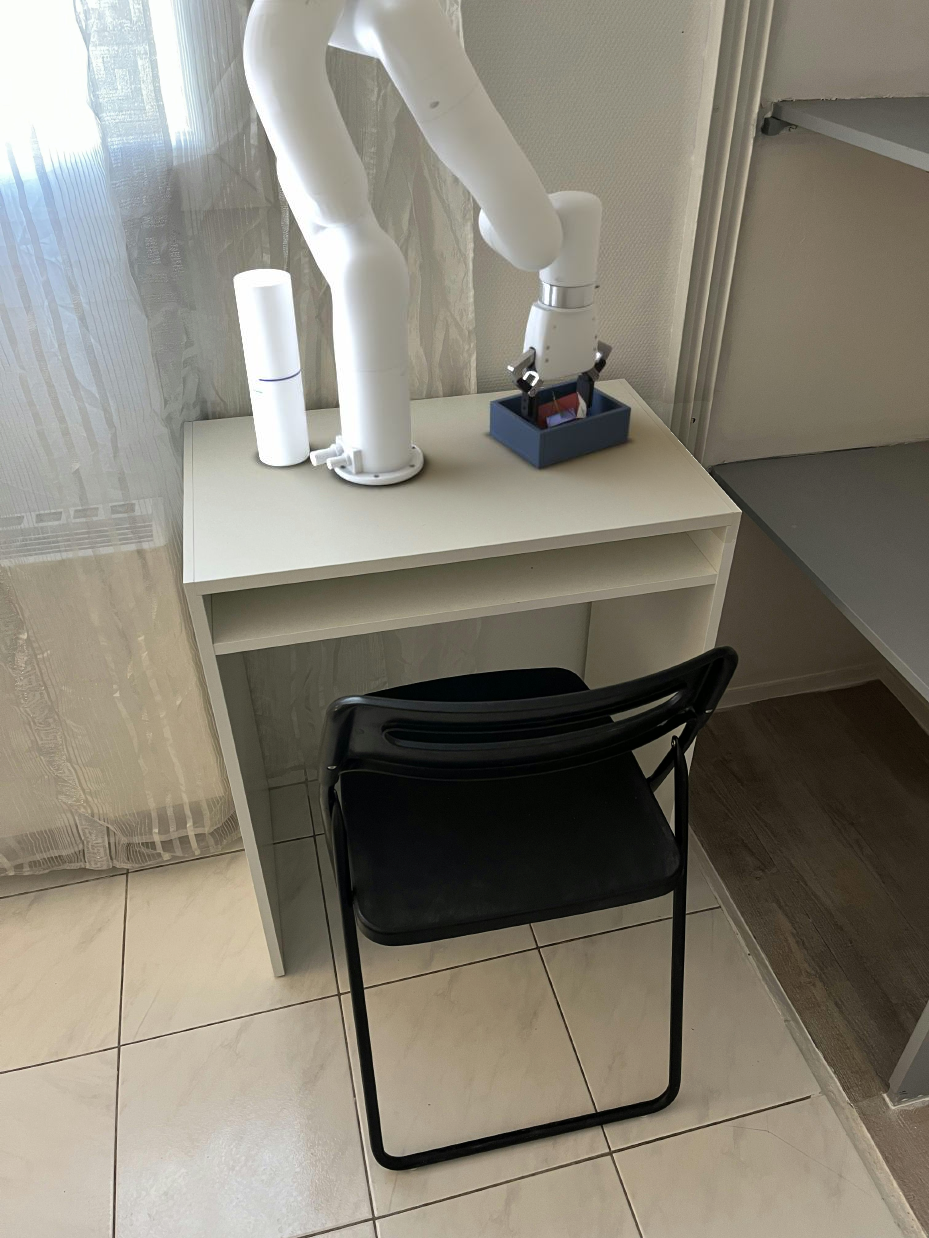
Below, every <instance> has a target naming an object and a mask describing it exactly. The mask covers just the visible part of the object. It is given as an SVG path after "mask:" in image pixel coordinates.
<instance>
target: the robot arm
mask: <svg viewBox="0 0 929 1238" xmlns="http://www.w3.org/2000/svg"><path fill="white" fill-rule="evenodd" d="M328 46H330V47H334V48H338V49H341V50H344V51H348V52H352V53H356V54H359V55H364V56H369V57H373V58H375V59H378V60H379V61H380V62H381V63H382V65H383V67H384V69H385V71H386V72H387V74H388V76H389V77H390V79H391V81H392V83H393V84H394V86H395V88H396V89H397V90H398V92H399V94H400V96H401V98H402V99H403V101H404V103H405V104H406V106H407V108H408V110H409V111H410V113H411V115H412V117H413V119H414V120H415V122H416V124H417V125H418V127H419V129H420V131H421V133H422V135H423V136H424V138H425V140H426V142H427V144H428V145H429V146H430V147H431V149H432V150H433V152H434V153H435V154H436V156H437V157H438V158H439V160H440V161H441V162H442V163H443V165H445V166H446V167H447V169H449V171H451V172H452V173H453V175H454V176H456V177H457V179H458V180H459V181H460V183H462V184H463V186H464V187H465V188H466V189H467V190H468V191H469V193H470V194H471V196H472V197H473V198H474V200H475V201H476V203H477V205H478V206H479V207H480V208H481V209H480V212H479V215H478V228H479V232H480V235H481V236H482V239H483V240H484V241H485V243H486V244H487V245H488V246H489V247H490V248H491V249H492V250H494V251H495V252H496V253H497V254H499V255H500V256H501V257H503V258H504V259H505V260H507V261H508V263H510V264H511V265H512V266H514V267H515V268H517V269H518V270H520V271H521V270H522V271H525V272H530V273H533V272H539V273H538V274H539V275H538V292H537V301H534V302H532V304H531V308H530V311H529V314H528V319H527V324H526V329H525V334H524V342H523V351H522V354H521V355H520V356H519V357H518V358H516V359H515V360H514V361H513V362H511V363H510V364H509V365H508V366H507V371H508V373H509V376H510V378H511V379H512V380H511V381H512V383H513V384H514V385H515V386H516V387H517V388H518V390H519V391H521V393H522V404H521V411H522V415H523V416H524V417H525V418H527V419H528V420H530V421H531V422H537V420H538V413H539V396H538V395H537V394H536V393H537V392H538V390H539V389H540V388H542V386H543V384H544V383H545V382H548V381H553V380H558V379H562V378H565V377H570V376H574V375H577V374H579V375H578V376H577V378H576V379H577V389H576V392H578V394H579V395H580V396H581V398H582V399H583V400H584V402H585V403H586V407H587V408H591V407H592V402H593V393H594V387H595V383H596V382H597V381H599V379H600V373H602V371H603V369H604V368H606V366H607V360H608V358H609V356H610V354H611V353H612V350H613V346H612V345H610V344H608V343H606V342H604V341H602V340H600V339H599V316H598V307H597V306H598V305H597V301H596V300H595V290H597V289H599V288H600V286H601V282H600V279H599V278H597V269H598V261H599V260H598V259H599V249H600V240H601V239H600V238H601V229H602V218H603V204H602V201H601V200H600V198H599V197H598V196H597V195H596V194H593V193H591V192H588V191H581V190H562V191H557V192H554V193H547V190H546V189H545V186H544V185H543V183H542V181H541V179H540V178H539V175H538V174H537V172H536V170H535V168H534V167H533V165H532V164H531V162H530V160H529V159H528V157H527V156H526V154H525V153H524V151H523V150H522V148H521V147H520V145H519V144H518V142H517V141H516V139H515V137H514V136H513V134H512V133H511V131H510V129H509V128H508V125H507V124H506V122H505V121H504V119H503V118H502V116H501V115H500V113H499V112H498V111H497V109H496V107H495V106H494V104H493V102H492V100H491V99H490V97H489V94H488V93H487V91H486V89H485V87H484V86H483V83H482V82H481V79H480V78H479V76H478V74H477V72H476V70H475V68H474V67H473V64H472V62H471V60H470V58H469V57H468V54H467V52H466V50H465V49H464V46H463V44H462V43H461V40H460V38H459V37H458V34H457V32H456V31H455V29H454V27H453V24H452V23H451V21H450V19H449V17H448V15H447V13H446V11H445V10H444V8H443V6H442V4H441V2H440V0H253V2H252V5H251V7H250V10H249V13H248V16H247V20H246V26H245V30H244V38H243V66H244V75H245V79H246V82H247V83H246V84H247V86H248V90H249V92H250V95H251V99H252V101H253V103H254V106H255V108H256V111H257V113H258V115H259V119H260V121H261V123H262V125H263V127H264V130H265V133H266V135H267V138H268V140H269V143H270V145H271V147H272V149H273V151H274V154H275V156H276V172H277V177H278V178H277V179H278V181H279V184H280V187H281V189H282V192H283V194H284V196H285V198H286V201H287V203H288V204H289V208H290V209H291V211H292V214H293V216H294V218H295V220H296V222H297V224H298V227H299V229H300V231H301V233H302V235H303V237H304V239H305V242H306V244H307V245H308V247H309V250H310V252H311V254H312V256H313V257H314V261H315V263H316V264H317V266H318V268H319V270H320V272H321V273H322V275H323V276H324V278H325V280H326V282H327V283H328V285H329V287H330V292H331V297H332V298H331V299H332V336H333V350H334V359H335V360H334V361H335V369H336V380H337V391H338V392H337V393H338V404H339V414H340V415H339V416H340V425H341V434H339V435H335V443H333V444H331V445H330V447H328V448H327V447H326V448H321V449H317V450H313V451H310V455H309V457H310V461H311V464H312V465H313V466H315V467H317V466H320V465H323V464H326V466H327V467H328V469H329V470H332V469H333V470H334V471H335V472H336V474H337V475H339V476H340V477H341V478H342V479H344V480H345V481H349V482H352V483H354V484H360V485H365V486H366V485H367V486H383V485H392V484H398V483H400V482H403V481H406V480H408V479H410V478H412V477H415V475H417V474H418V473H419V472H420V471H421V469H422V468H423V466H424V454H423V451H422V450H421V448H419V447H418V446H417V445H415V444H414V443H413V441H412V418H411V417H412V415H411V394H410V393H411V391H410V390H411V389H410V388H411V387H410V367H409V366H410V365H409V347H408V316H409V315H408V312H409V302H410V286H411V285H410V283H411V282H410V273H409V268H408V264H407V260H406V258H405V256H404V254H403V252H402V250H401V249H400V247H399V245H398V244H397V243H396V242H395V241H394V239H393V238H391V237H390V235H389V234H388V233H387V232H386V231H384V230H383V229H382V228H381V226H380V224H379V222H378V220H377V218H376V216H375V213H374V210H373V208H372V206H371V203H370V200H369V198H368V197H369V182H368V176H367V172H366V169H365V165H364V164H363V161H362V159H361V158H360V155H359V153H358V152H357V149H356V147H355V145H354V143H353V141H352V138H351V136H350V134H349V131H348V128H347V125H346V123H345V120H344V119H343V116H342V113H341V111H340V109H339V107H338V104H337V101H336V100H337V99H336V97H335V94H334V91H333V89H332V86H331V85H330V81H329V77H328V72H327V67H326V66H327V65H326V64H327V63H326V58H327V57H326V55H327V50H328ZM523 371H524V372H526V373H525V375H524V376H523Z"/></svg>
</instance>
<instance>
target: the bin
mask: <svg viewBox="0 0 929 1238" xmlns="http://www.w3.org/2000/svg"><path fill="white" fill-rule="evenodd" d="M550 386H551V388H552V390H551V389H550ZM553 388H554V389H553ZM555 389H556V390H555ZM576 389H577V378H574V379H570V380H567V381H563V382H559V383H558V382H557V383H555V384H551V385H547V386H544V387H540V389H539V390H538V392H537V393H536V394H537V395H538V396H539V405H541V406H542V404H543V405H544V403H545V402H547V403H550V402H552V401H553V400H554V398H553V394H554V397H555V398H556V399H555V400H558V399H560V398H563V397H566V396H565V395H567V396H568V394H570V395H571V394H572V393H576ZM549 390H550V392H549ZM557 390H558V391H559V392H558V391H557ZM552 391H553V394H552ZM560 392H561V393H560ZM545 393H546V394H545ZM548 393H549V395H548ZM562 393H563V394H562ZM547 396H548V398H547ZM561 396H563V397H561ZM558 397H559V398H558ZM541 398H542V399H541ZM546 399H547V401H546ZM552 399H553V400H552ZM550 400H551V401H550ZM555 400H554V401H555ZM548 401H549V402H548ZM547 403H546V404H547ZM521 404H522V392H519V393H517V394H513V395H509V396H506V397H501V398H498V399H495V400H490V401H489V435H490V436H491V437H492V438H494V439H495V440H496V441H498V442H499V443H501V444H503V445H504V446H506V447H507V448H508V449H510V450H511V451H513V452H514V453H515V454H517V455H518V456H520V457H521V458H522V459H524V460H526V461H527V462H528V463H530V464H531V465H533V466H534V467H535V468H537V469H541V468H544V467H547V466H551V465H554V464H557V463H561V462H564V461H567V460H570V459H574V458H577V457H580V456H583V455H587V454H591V453H594V452H596V451H599V450H602V449H606V448H610V447H613V446H616V445H619V444H622V443H625V442H629V441H628V440H629V430H630V422H631V414H632V407H631V406H629V405H627V404H626V403H624V402H622V401H620V400H618V399H616V398H615V397H613V396H611V395H609V394H608V393H606V392H604V391H603V390H600V389H599V388H596V387H595V386H594V393H593V402H592V407H591V408H587V407H586V417H585V418H582V419H580V420H576V421H573V422H569V423H566V424H562V425H559V426H555V427H552V428H548V429H545V430H542V431H541V428H540V425H539V423H538V420H537V422H531V421H530V420H528V419H527V418H525V417H524V416H523V415H522V411H521Z"/></svg>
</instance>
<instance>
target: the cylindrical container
mask: <svg viewBox="0 0 929 1238" xmlns="http://www.w3.org/2000/svg"><path fill="white" fill-rule="evenodd" d="M233 285H234V290H235V291H234V292H235V298H236V305H237V311H238V318H239V324H240V332H241V338H242V344H243V352H244V359H245V366H246V372H247V380H248V386H249V393H250V399H251V405H252V413H253V419H254V426H255V427H254V428H255V433H256V440H257V449H258V454H259V459H260V460H261V461H262V462H263V463H265V464H266V465H269V466H275V467H288V466H294V465H297V464H300V463H302V462H305V461H306V460H307V459H308V458H309V457H310V453H311V450H310V441H309V431H308V423H307V422H308V421H307V414H306V406H305V404H306V403H305V396H304V395H305V394H304V386H303V378H302V369H301V359H300V350H299V340H298V333H297V324H296V323H297V322H296V314H295V306H294V297H293V287H292V280H291V274H290V273H289V272H287V271H286V270H285V271H284V270H281V269H274V268H259V269H251V270H247V271H243V272H241V273H238V274H235V276H234V277H233Z"/></svg>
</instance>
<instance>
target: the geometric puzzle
mask: <svg viewBox="0 0 929 1238" xmlns="http://www.w3.org/2000/svg"><path fill="white" fill-rule="evenodd" d="M549 386H550V389H551V390H552V388H551V385H549ZM553 389H554V388H553ZM555 390H556V389H555ZM557 391H558V390H557ZM549 392H550V390H549ZM558 392H559V391H558ZM560 393H561V392H560ZM545 394H546V393H545ZM552 394H553V391H552ZM562 394H563V393H562ZM548 395H549V393H548ZM565 396H566V397H563V396H561V397H563V398H560V399H558V400H555V399H556V398H555V397H554V394H553V398H554V400H555V401H554V400H553V399H552V400H553V401H552V402H550V403H547V402H545V403H544V405H543V404H542V406H541V405H539V413H538V423H539V425H540V428H541V431H542V430H545V429H548V428H552V427H555V426H559V425H562V424H566V423H569V422H573V421H576V420H580V419H582V418H585V417H586V403H585V402H584V400H583V399H582V398H581V396H580V395H579V394H578V392H576V393H572V394H571V395H570V394H568V396H567V395H565ZM547 398H548V396H547ZM558 398H559V397H558ZM541 399H542V398H541ZM546 401H547V399H546ZM550 401H551V400H550ZM548 402H549V401H548ZM546 403H547V404H546Z"/></svg>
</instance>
